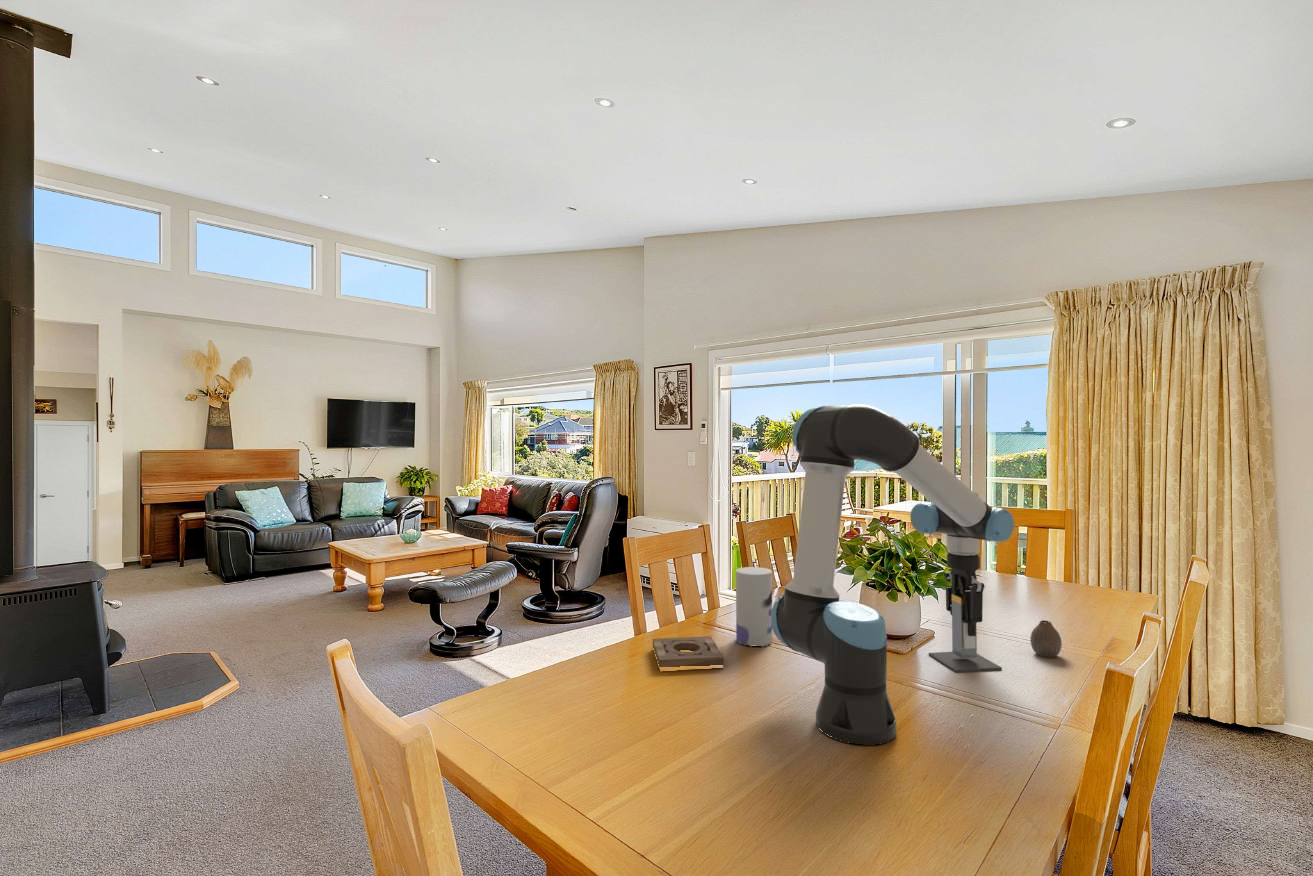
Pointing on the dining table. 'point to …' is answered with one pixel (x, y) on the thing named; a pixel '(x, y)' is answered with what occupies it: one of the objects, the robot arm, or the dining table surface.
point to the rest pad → (964, 662)
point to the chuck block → (701, 655)
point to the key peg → (960, 629)
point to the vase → (1046, 640)
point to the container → (753, 606)
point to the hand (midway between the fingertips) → (963, 644)
